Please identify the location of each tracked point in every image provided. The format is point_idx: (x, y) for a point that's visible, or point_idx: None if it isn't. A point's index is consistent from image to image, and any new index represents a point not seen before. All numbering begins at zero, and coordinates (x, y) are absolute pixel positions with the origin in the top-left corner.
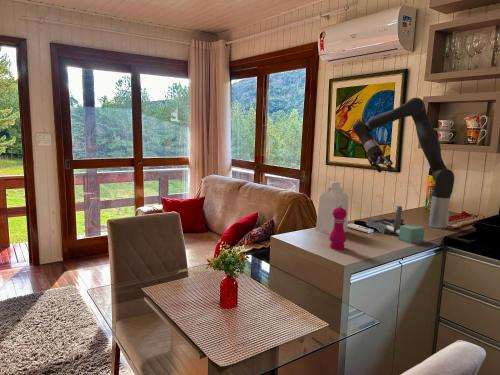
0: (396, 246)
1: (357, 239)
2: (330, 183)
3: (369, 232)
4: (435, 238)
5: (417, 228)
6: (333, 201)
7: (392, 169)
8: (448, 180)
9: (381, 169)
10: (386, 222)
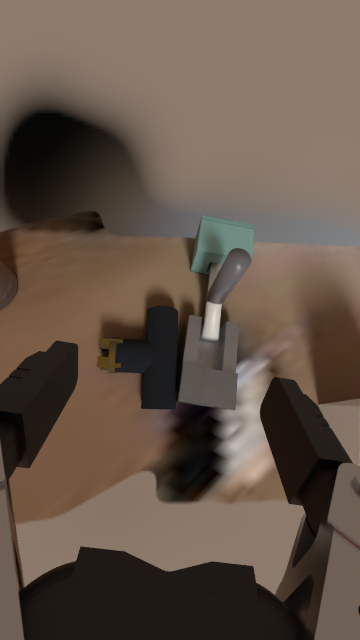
0: (287, 255)
1: (339, 335)
2: None
3: (260, 362)
4: (138, 236)
5: (230, 221)
6: None
7: (71, 346)
8: None
9: (284, 385)
10: (194, 348)
